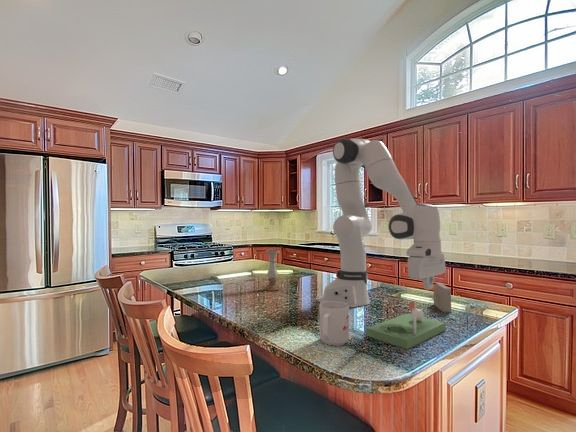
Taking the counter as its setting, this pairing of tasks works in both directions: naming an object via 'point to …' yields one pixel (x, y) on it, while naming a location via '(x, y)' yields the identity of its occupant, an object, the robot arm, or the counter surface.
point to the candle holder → (272, 272)
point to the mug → (334, 322)
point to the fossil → (442, 297)
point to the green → (406, 329)
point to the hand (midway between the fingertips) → (428, 289)
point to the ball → (419, 315)
